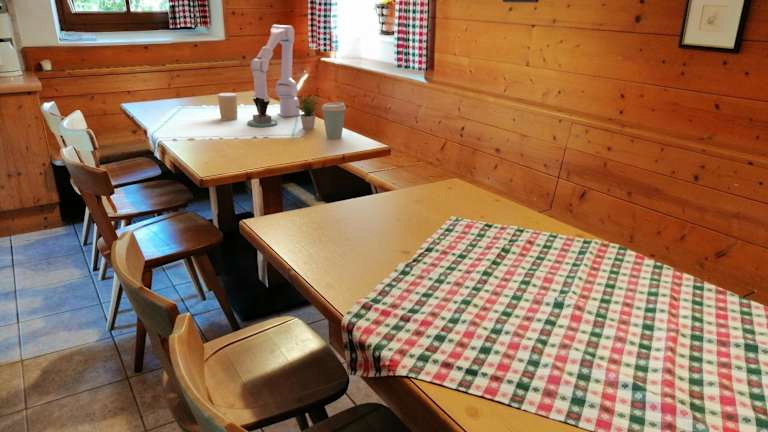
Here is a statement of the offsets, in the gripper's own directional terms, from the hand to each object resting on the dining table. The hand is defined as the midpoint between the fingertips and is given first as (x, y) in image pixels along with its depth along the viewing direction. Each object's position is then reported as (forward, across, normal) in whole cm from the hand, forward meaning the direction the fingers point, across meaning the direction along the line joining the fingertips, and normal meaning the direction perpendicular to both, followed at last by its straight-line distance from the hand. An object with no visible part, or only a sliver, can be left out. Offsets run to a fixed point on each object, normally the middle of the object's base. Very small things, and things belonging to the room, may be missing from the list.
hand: (261, 114), depth 268 cm
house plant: (+5, +19, +15) cm, 25 cm away
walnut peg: (+2, 0, 0) cm, 2 cm away
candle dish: (+5, 0, 0) cm, 5 cm away
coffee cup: (+5, -18, -10) cm, 21 cm away
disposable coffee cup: (+5, +38, +18) cm, 42 cm away
